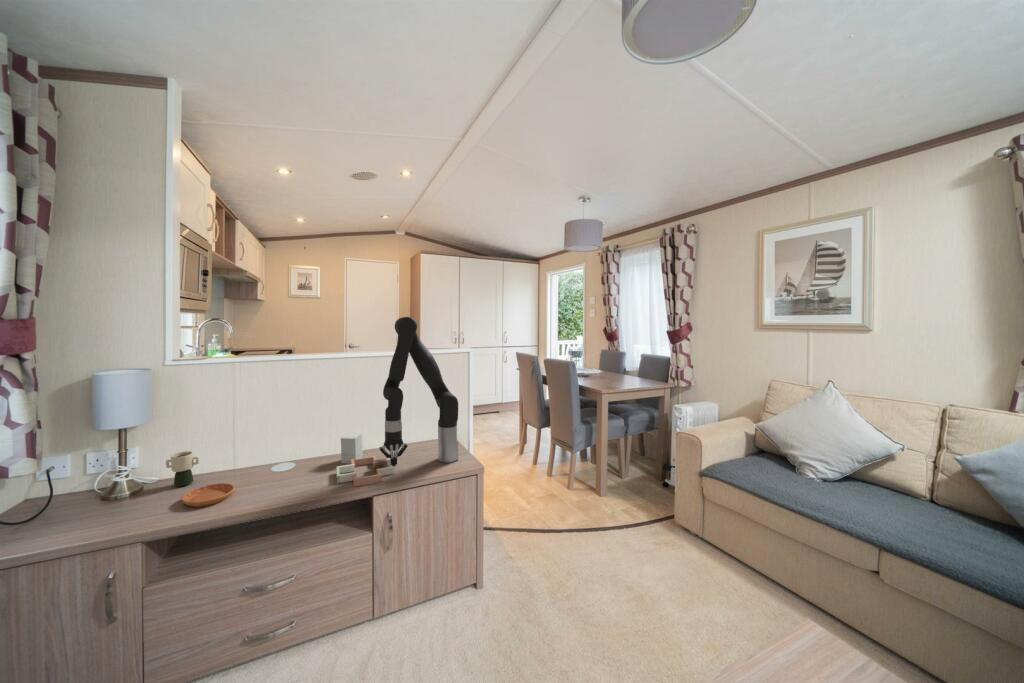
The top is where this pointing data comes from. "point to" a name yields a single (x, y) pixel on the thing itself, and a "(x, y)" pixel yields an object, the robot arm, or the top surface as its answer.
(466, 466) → the top surface
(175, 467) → the character mug
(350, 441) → the supplement box
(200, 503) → the saucer
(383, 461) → the walnut block
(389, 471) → the corral
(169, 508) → the top surface
